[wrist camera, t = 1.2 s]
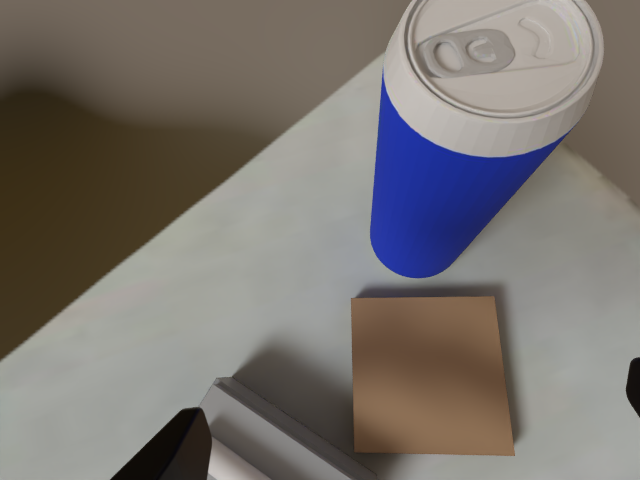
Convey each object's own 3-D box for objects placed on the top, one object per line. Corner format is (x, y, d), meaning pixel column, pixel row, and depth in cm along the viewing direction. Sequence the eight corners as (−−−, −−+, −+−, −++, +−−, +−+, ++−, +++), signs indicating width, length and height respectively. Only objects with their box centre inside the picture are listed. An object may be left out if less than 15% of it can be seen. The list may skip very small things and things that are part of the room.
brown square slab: (507, 451, 20) (515, 455, 19) (354, 448, 20) (354, 452, 19) (488, 299, 22) (494, 296, 21) (351, 301, 23) (351, 298, 22)
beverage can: (443, 188, 24) (564, -68, 10) (471, 269, 23) (663, 101, 8) (360, 207, 24) (362, -17, 10) (382, 289, 23) (421, 159, 8)
